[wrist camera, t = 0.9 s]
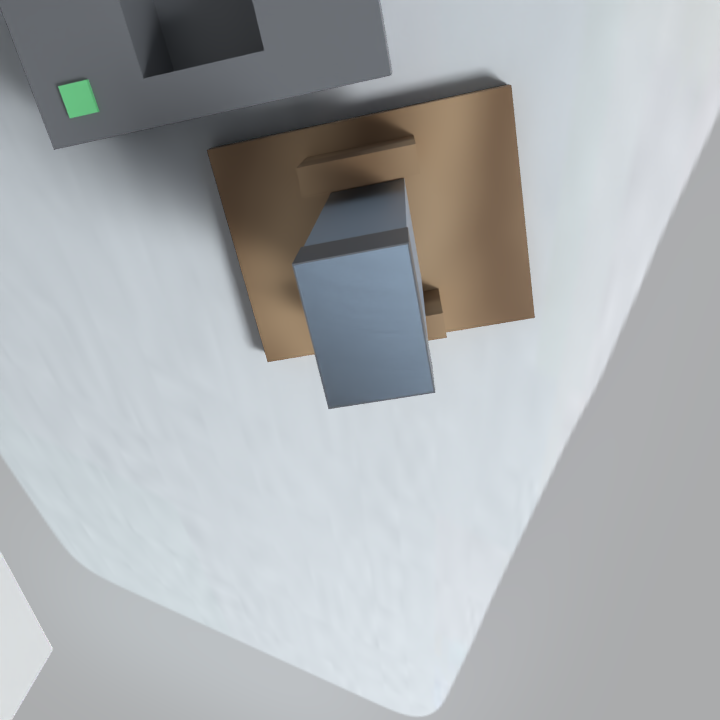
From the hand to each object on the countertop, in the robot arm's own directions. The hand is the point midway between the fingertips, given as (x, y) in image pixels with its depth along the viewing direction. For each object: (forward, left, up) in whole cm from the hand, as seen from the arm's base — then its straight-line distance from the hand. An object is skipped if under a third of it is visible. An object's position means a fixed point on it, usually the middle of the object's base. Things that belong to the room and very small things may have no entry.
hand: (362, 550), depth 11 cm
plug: (0, 0, -22) cm, 22 cm away
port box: (+5, -12, -23) cm, 27 cm away
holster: (0, 0, -23) cm, 23 cm away
